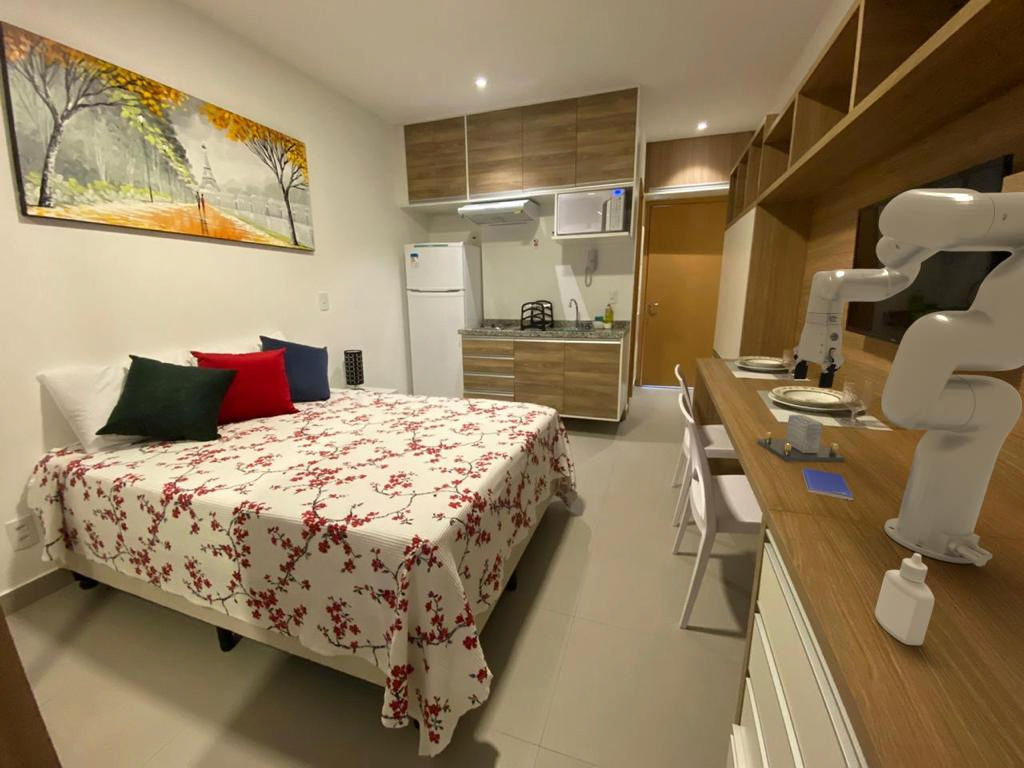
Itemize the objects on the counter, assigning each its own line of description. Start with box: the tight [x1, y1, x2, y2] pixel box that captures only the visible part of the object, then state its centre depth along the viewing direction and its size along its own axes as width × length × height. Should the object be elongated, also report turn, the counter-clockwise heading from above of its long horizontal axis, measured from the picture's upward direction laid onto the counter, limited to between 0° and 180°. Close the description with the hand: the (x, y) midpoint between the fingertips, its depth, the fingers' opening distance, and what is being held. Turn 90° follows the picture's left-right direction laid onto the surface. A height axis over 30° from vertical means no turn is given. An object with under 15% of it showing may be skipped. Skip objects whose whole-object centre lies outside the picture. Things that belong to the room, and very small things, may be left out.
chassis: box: [756, 430, 846, 463], centre depth 117 cm, size 13×16×4 cm
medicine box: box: [784, 414, 824, 453], centre depth 116 cm, size 8×4×9 cm, turn 0°
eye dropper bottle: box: [874, 552, 936, 646], centre depth 56 cm, size 4×6×12 cm
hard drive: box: [802, 467, 854, 501], centre depth 99 cm, size 2×8×12 cm
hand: (811, 383), depth 113 cm, fingers open, 9 cm apart
